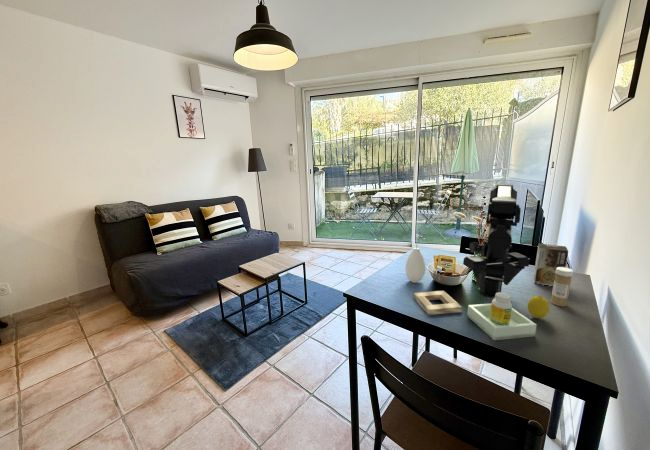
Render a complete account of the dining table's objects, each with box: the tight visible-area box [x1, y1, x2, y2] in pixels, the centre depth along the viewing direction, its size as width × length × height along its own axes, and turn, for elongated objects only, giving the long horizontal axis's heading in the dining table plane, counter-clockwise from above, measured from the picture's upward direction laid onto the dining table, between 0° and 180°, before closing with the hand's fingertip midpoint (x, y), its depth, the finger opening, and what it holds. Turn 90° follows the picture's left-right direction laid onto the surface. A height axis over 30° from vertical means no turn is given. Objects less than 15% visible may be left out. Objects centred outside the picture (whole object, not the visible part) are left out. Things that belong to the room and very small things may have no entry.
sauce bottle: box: [404, 242, 426, 284], centre depth 117 cm, size 8×8×18 cm
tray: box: [466, 302, 538, 341], centre depth 87 cm, size 13×13×4 cm
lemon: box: [527, 295, 550, 319], centre depth 90 cm, size 6×6×8 cm
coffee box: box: [532, 243, 569, 286], centre depth 113 cm, size 9×6×16 cm
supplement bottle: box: [490, 291, 513, 326], centre depth 87 cm, size 5×5×10 cm
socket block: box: [413, 290, 463, 316], centre depth 101 cm, size 12×12×2 cm
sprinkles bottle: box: [550, 267, 574, 307], centre depth 98 cm, size 5×5×13 cm
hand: (492, 285), depth 89 cm, fingers open, 9 cm apart
